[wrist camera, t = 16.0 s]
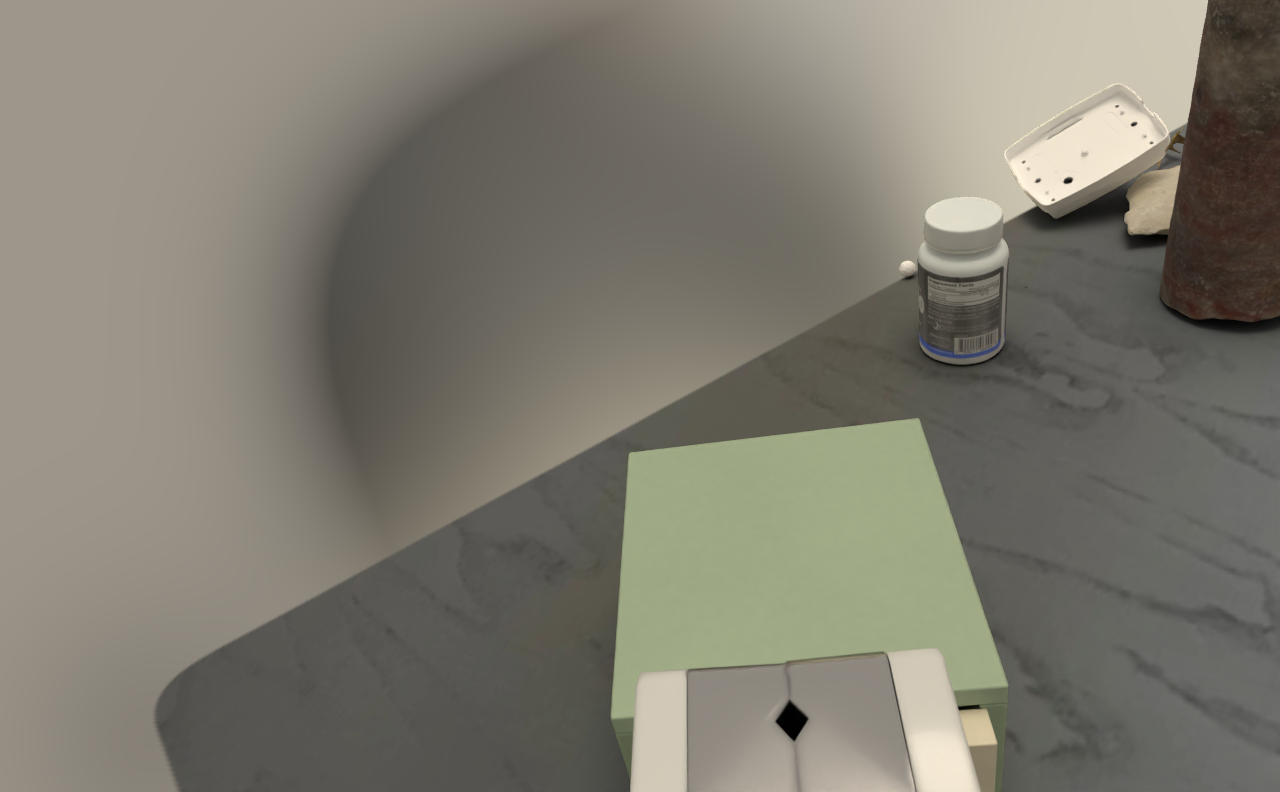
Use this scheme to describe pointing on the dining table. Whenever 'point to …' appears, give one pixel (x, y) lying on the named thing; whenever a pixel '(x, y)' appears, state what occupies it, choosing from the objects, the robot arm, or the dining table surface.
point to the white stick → (908, 268)
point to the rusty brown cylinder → (1230, 172)
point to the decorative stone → (1152, 202)
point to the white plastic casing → (1088, 150)
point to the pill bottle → (963, 281)
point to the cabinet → (797, 562)
